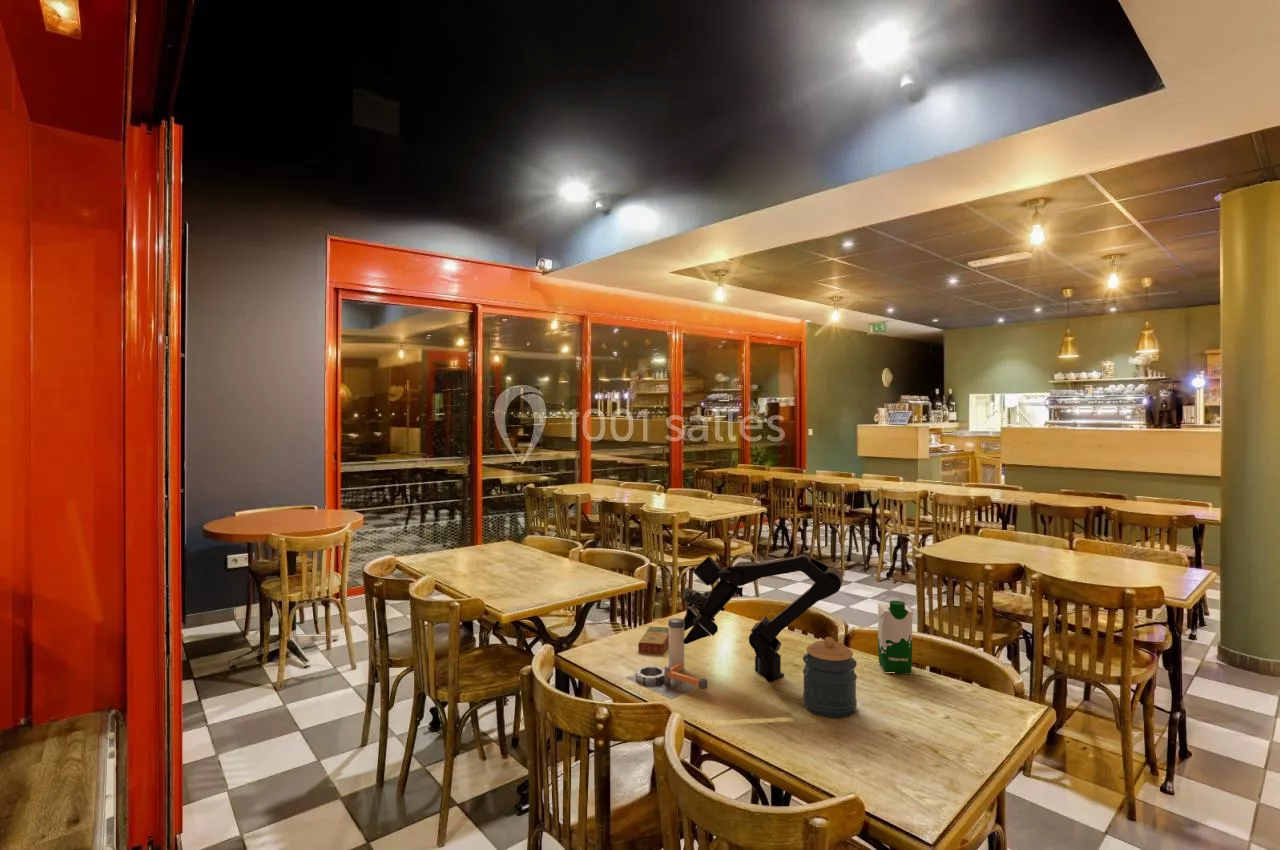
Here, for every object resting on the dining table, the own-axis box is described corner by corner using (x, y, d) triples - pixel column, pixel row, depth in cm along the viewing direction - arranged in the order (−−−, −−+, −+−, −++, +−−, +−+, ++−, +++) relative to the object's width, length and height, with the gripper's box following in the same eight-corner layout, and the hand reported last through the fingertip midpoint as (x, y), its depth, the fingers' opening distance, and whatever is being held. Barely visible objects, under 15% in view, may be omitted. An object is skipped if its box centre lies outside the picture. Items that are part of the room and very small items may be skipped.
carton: (637, 655, 194) (637, 641, 194) (649, 638, 210) (648, 625, 210) (664, 657, 192) (664, 643, 192) (673, 639, 208) (673, 626, 208)
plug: (688, 670, 181) (688, 621, 181) (676, 674, 178) (676, 624, 178) (676, 665, 185) (676, 617, 184) (664, 669, 181) (664, 620, 181)
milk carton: (883, 674, 178) (883, 604, 178) (874, 662, 187) (874, 595, 187) (915, 676, 177) (915, 605, 177) (905, 663, 186) (905, 596, 186)
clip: (719, 686, 168) (719, 670, 168) (704, 697, 162) (704, 680, 162) (678, 674, 177) (678, 659, 176) (662, 683, 170) (662, 667, 170)
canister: (820, 722, 151) (820, 648, 150) (793, 698, 163) (793, 631, 163) (867, 715, 154) (867, 643, 154) (837, 692, 167) (837, 626, 166)
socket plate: (697, 690, 168) (697, 681, 168) (671, 702, 161) (671, 692, 161) (652, 670, 181) (652, 661, 181) (625, 680, 175) (625, 671, 175)
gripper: (692, 571, 191) (657, 608, 190) (705, 587, 172) (666, 629, 171) (718, 595, 192) (683, 633, 191) (734, 614, 173) (695, 656, 172)
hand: (681, 637), depth 181 cm, fingers open, 9 cm apart
